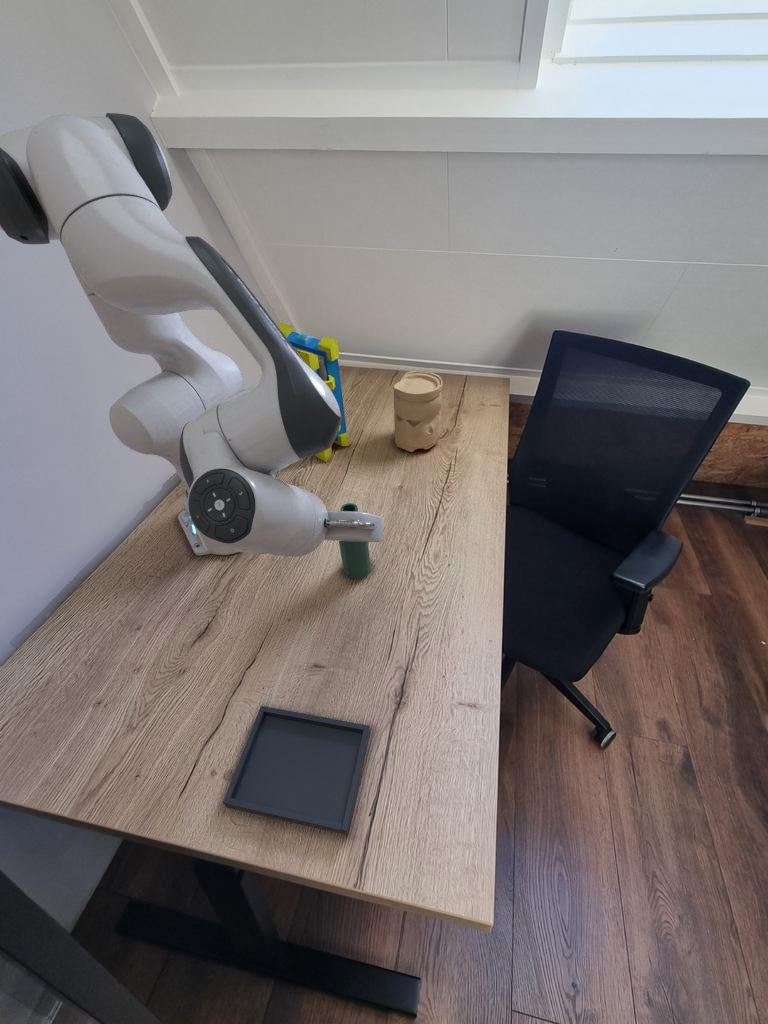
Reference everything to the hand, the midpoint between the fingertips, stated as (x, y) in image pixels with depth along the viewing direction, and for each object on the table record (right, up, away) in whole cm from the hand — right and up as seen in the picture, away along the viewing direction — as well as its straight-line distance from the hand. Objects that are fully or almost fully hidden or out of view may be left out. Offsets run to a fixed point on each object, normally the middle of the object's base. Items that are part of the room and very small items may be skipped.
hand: (330, 530), depth 71 cm
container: (+18, +23, +56) cm, 63 cm away
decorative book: (-12, +23, +58) cm, 63 cm away
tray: (-4, -35, -5) cm, 35 cm away
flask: (+3, -9, +22) cm, 24 cm away
